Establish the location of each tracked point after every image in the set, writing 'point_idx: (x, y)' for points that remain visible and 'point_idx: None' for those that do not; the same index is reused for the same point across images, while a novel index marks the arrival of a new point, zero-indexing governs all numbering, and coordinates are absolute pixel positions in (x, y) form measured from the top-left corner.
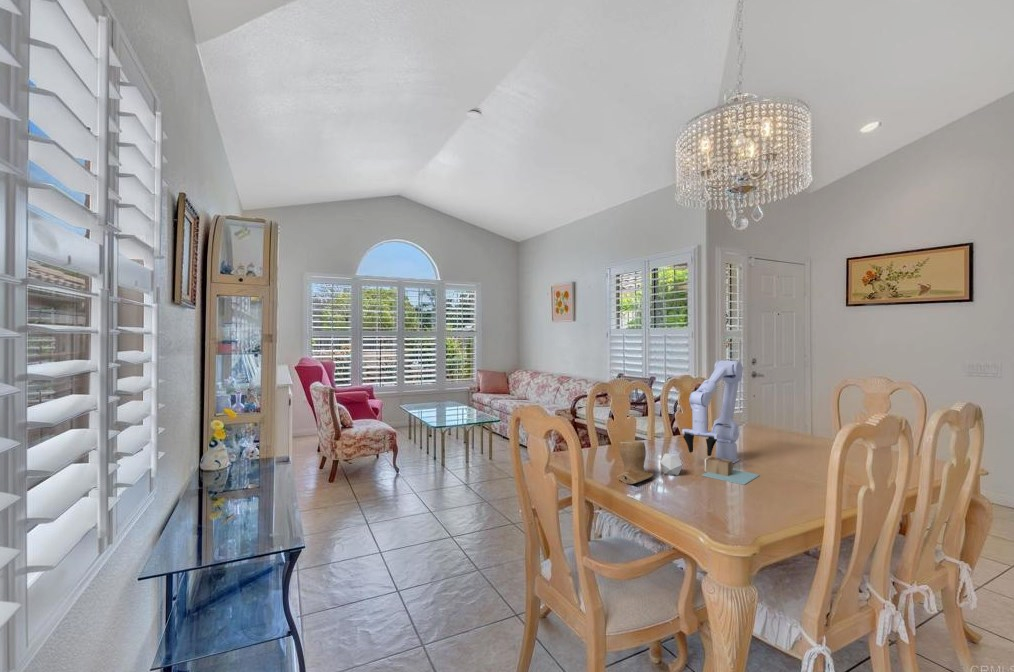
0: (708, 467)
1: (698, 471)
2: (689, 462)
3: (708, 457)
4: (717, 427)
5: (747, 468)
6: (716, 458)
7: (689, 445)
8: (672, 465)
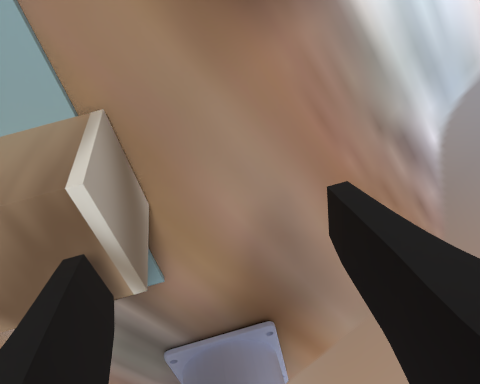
0: (53, 142)
1: (152, 71)
2: None
3: (125, 261)
4: None
5: None
6: None
7: (393, 248)
8: None
